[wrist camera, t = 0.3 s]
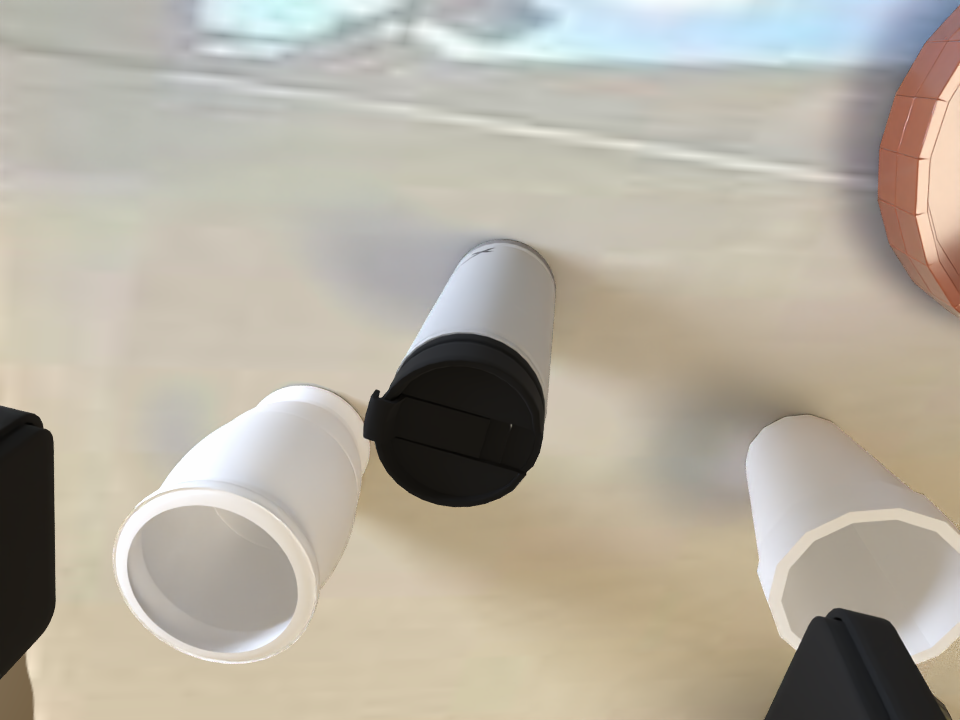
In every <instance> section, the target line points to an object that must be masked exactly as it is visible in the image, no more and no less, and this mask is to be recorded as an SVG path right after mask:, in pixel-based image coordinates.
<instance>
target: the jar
mask: <svg viewBox="0 0 960 720" xmlns="http://www.w3.org/2000/svg"><path fill="white" fill-rule="evenodd" d="M363 426H364V423H363V421H362V419H361V417H360V416H359V414H358V413H357V412H356V411H355V410H354V408H353V407H352V406H351V405H350V404H348V403H347V402H346V401H345V400H344V399H342V398H341V397H339V396H338V395H336V394H334V393H332V392H330V391H327V390H325V389H322V388H318V387H313V386H291V387H286V388H283V389H280V390H278V391H275V392H273V393H272V394H270V395H268V396H267V397H266V398H264V399H263V400H262V401H261V402H260V403H259V404H258V406H257V407H256V408H254V409H251V410H249V411H247V412H245V413H244V414H242V415H240V416H238V417H237V418H235V419H234V420H232V421H231V422H229V423H227V424H226V425H224V426H222V427H220V428H219V429H217V430H216V431H214V432H213V433H211V434H210V435H208V436H207V437H206V438H204V439H203V440H202V441H201V442H199V443H198V444H197V445H196V446H195V447H194V448H193V449H191V450H190V451H189V452H188V453H187V454H186V455H185V456H184V457H183V459H182V460H181V461H180V462H179V463H178V464H177V465H176V467H175V468H174V469H173V470H172V472H171V473H170V474H169V476H168V477H167V478H166V480H165V481H164V483H163V484H162V486H161V487H160V489H159V490H158V491H156V492H154V493H152V494H151V495H149V496H148V497H146V498H145V499H144V500H143V501H141V502H140V503H139V504H138V505H137V506H136V507H135V508H134V509H133V510H132V512H131V513H130V514H129V515H128V516H127V517H126V519H125V520H124V521H123V523H122V525H121V527H120V529H119V531H118V533H117V536H116V539H115V543H114V548H113V570H114V575H115V579H116V583H117V586H118V588H119V591H120V593H121V595H122V597H123V599H124V601H125V603H126V604H127V606H128V608H129V609H130V610H131V612H132V613H133V614H134V616H135V617H136V618H137V619H138V620H139V622H140V623H141V624H142V625H143V626H144V627H145V628H146V629H147V630H149V631H150V632H151V633H152V634H153V635H155V636H156V637H157V638H159V639H160V640H161V641H163V642H164V643H166V644H168V645H169V646H171V647H173V648H175V649H177V650H179V651H181V652H183V653H185V654H188V655H190V656H193V657H196V658H199V659H203V660H207V661H212V662H218V663H229V664H239V663H250V662H255V661H260V660H263V659H266V658H269V657H272V656H274V655H276V654H278V653H280V652H282V651H284V650H285V649H287V648H288V647H289V646H291V645H292V644H293V643H294V642H295V641H296V640H297V639H298V638H299V637H300V636H301V635H302V634H303V632H304V631H305V630H306V628H307V626H308V625H309V623H310V621H311V618H312V616H313V614H314V612H315V610H316V607H317V603H318V599H319V594H320V590H321V588H322V587H323V586H324V584H325V583H326V582H327V580H328V579H329V577H330V576H331V574H332V573H333V571H334V569H335V568H336V566H337V564H338V562H339V561H340V559H341V557H342V555H343V552H344V550H345V548H346V546H347V543H348V540H349V538H350V535H351V532H352V528H353V524H354V520H355V515H356V508H357V503H358V500H359V495H360V490H361V481H362V475H363V474H364V472H365V470H366V467H367V465H368V461H369V456H370V441H369V440H368V439H365V438H364V437H363Z"/></svg>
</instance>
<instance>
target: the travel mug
mask: <svg viewBox="0 0 960 720" xmlns="http://www.w3.org/2000/svg"><path fill="white" fill-rule="evenodd" d="M555 298H556V285H555V280H554V276H553V274H552V271H551V269H550V267H549V265H548V264H547V262H546V261H545V259H544V258H543V257H542V256H541V255H540V254H539V253H538V252H537V251H535V250H534V249H532V248H531V247H529V246H528V245H525V244H523V243H520V242H518V241H513V240H492V241H487V242H485V243H482V244H480V245H478V246H476V247H475V248H473V249H472V250H470V251H469V252H468V253H467V254H466V255H465V256H464V257H463V258H462V259H461V261H460V262H459V264H458V265H457V267H456V269H455V270H454V272H453V274H452V276H451V277H450V279H449V281H448V283H447V284H446V286H445V288H444V290H443V291H442V293H441V295H440V297H439V298H438V300H437V302H436V304H435V305H434V307H433V309H432V311H431V312H430V314H429V316H428V317H427V319H426V321H425V323H424V324H423V326H422V328H421V330H420V331H419V333H418V335H417V337H416V338H415V340H414V342H413V344H412V345H411V347H410V349H409V351H408V352H407V354H406V356H405V358H404V359H403V361H402V363H401V365H400V366H399V368H398V370H397V372H396V375H395V378H394V380H393V381H392V383H391V385H390V388H389V390H388V391H387V392H386V393H385V394H384V396H383V397H382V398H379V393H380V391H379V390H375V391H374V393H373V394H372V396H371V398H370V401H369V405H368V408H367V412H366V416H365V421H364V426H363V437H364V438H365V439H368V440H372V441H375V445H376V449H377V453H378V456H379V459H380V461H381V462H382V464H383V466H384V468H385V469H386V471H387V473H388V474H389V475H390V476H391V477H392V478H393V479H394V480H395V482H396V483H397V484H398V485H400V486H401V487H402V488H404V489H405V490H406V491H408V492H409V493H411V494H412V495H414V496H416V497H418V498H420V499H422V500H425V501H428V502H431V503H434V504H437V505H443V506H450V507H471V506H476V505H481V504H486V503H489V502H491V501H494V500H497V499H499V498H501V497H503V496H505V495H506V494H508V493H510V492H511V491H513V490H514V489H515V488H516V486H517V485H518V484H519V483H520V482H521V480H522V479H523V478H524V477H525V476H526V472H527V471H528V470H529V469H531V468H532V467H533V466H534V464H535V462H536V460H537V457H538V455H539V453H540V449H541V444H542V440H543V431H544V423H545V418H546V413H547V400H548V387H549V375H550V362H551V349H552V337H553V324H554V311H555Z"/></svg>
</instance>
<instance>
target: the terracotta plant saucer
mask: <svg viewBox="0 0 960 720" xmlns="http://www.w3.org/2000/svg"><path fill="white" fill-rule="evenodd" d="M878 203H879V207H880V211H881V215H882V218H883V222H884V226H885V230H886V234H887V237H888V241H889V244H890V246H891V248H892V249H893V251H894V252H895V254H896V256H897V257H898V259H899V260H900V262H901V263H902V265H903V267H904V268H905V270H906V271H907V273H908V275H909V276H910V278H911V279H912V281H913V282H914V283H915V284H916V285H917V286H919V287H920V288H921V289H922V290H923V291H925V292H926V293H927V294H928V295H929V296H931V297H932V298H933V299H934V300H935V301H937V302H938V303H939V304H940V305H941V306H943V307H944V308H945V309H946V310H948V311H949V312H951V313H952V314H954V315H955V316H957V317H958V318H960V5H959V6H958V7H957V8H956V10H955V11H954V12H953V13H952V14H951V15H950V16H949V17H948V18H947V19H946V20H945V22H944V23H943V24H942V25H941V26H940V27H939V28H938V29H937V30H936V31H935V32H934V34H933V35H932V36H931V37H930V38H929V39H928V40H927V41H926V43H925V44H924V46H923V47H922V49H921V51H920V53H919V54H918V56H917V58H916V60H915V61H914V63H913V65H912V66H911V68H910V70H909V72H908V73H907V75H906V77H905V78H904V80H903V82H902V84H901V85H900V87H899V89H898V91H897V92H896V95H895V98H894V101H893V104H892V107H891V111H890V114H889V117H888V121H887V124H886V127H885V131H884V134H883V137H882V141H881V144H880V149H879V174H878Z"/></svg>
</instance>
